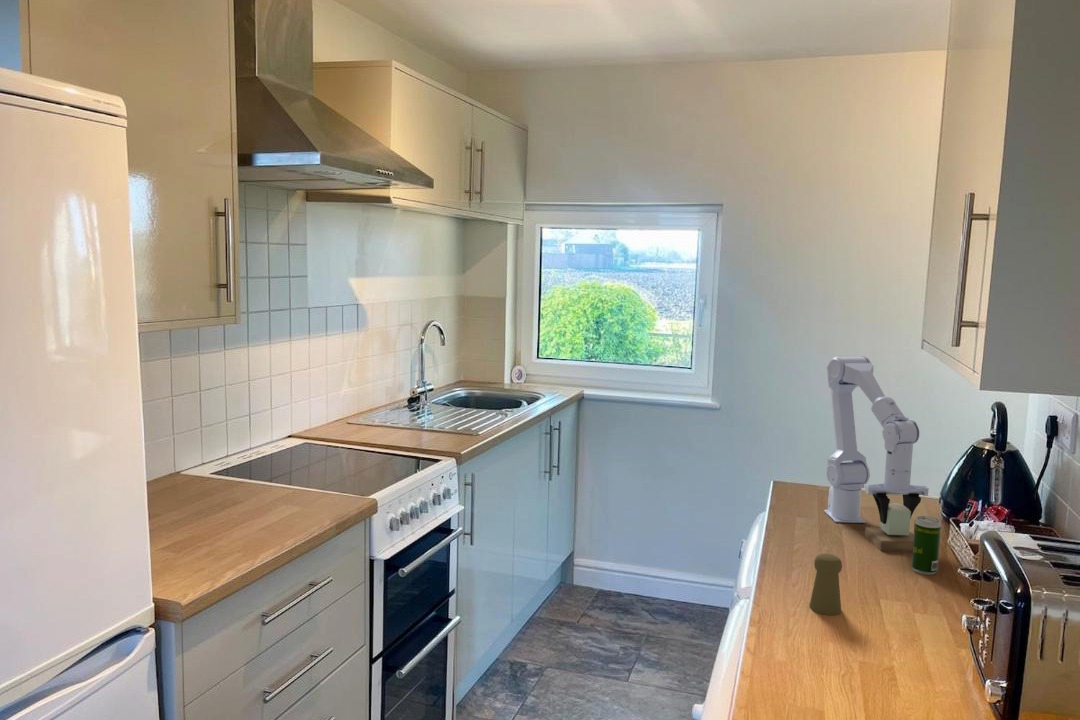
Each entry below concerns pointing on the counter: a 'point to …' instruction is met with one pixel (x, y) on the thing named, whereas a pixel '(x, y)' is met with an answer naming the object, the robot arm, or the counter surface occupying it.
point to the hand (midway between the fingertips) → (894, 522)
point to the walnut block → (889, 540)
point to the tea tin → (897, 520)
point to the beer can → (926, 545)
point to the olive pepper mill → (826, 585)
